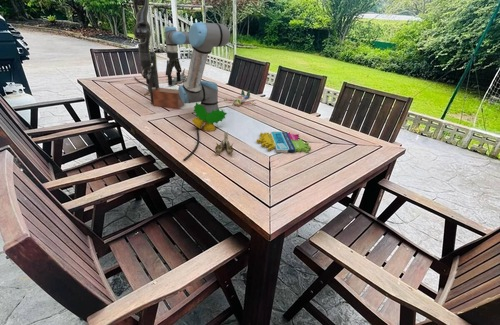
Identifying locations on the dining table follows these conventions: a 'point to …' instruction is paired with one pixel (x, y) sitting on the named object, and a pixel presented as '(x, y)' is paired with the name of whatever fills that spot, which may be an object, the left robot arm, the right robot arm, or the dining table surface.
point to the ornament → (207, 117)
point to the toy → (241, 99)
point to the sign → (283, 142)
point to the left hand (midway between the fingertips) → (148, 83)
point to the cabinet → (167, 98)
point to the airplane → (180, 77)
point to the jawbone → (224, 145)
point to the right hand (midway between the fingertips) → (174, 83)
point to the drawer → (150, 96)
